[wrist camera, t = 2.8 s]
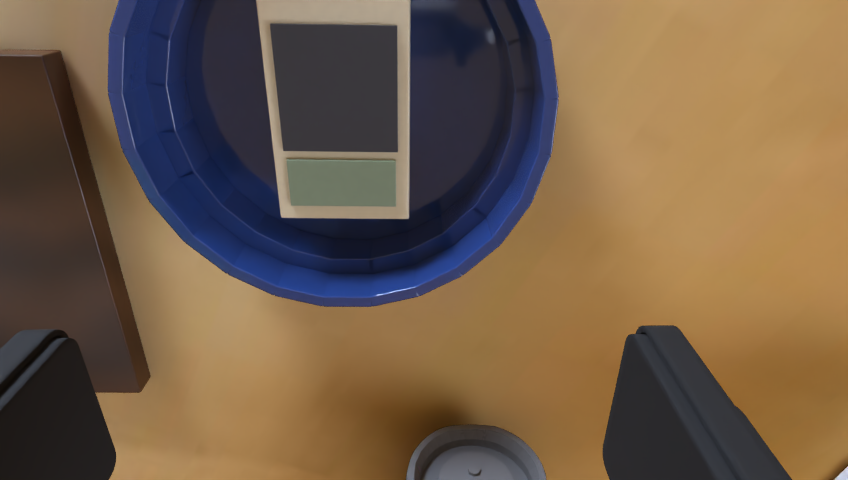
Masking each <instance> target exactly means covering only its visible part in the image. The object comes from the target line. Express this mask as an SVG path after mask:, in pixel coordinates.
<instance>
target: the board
mask: <svg viewBox="0 0 848 480" xmlns="http://www.w3.org/2000/svg"><path fill="white" fill-rule="evenodd" d="M42 329H59V330H63V331H64V332H65V333H67V335H68V337H69V338H72V339H74V340H76V341H77V343H78V345H79V348H80V351H81V353H82V356H83V359H84V362H85V365H86V368H87V371H88V373H89V376H90V379H91V382H92V385H93V388H94V391H95V392H110V393H140V392H141V391H142V389H143V388H144V386H145V385H146V383H147V381H148V380H149V378H150V373H149V369H148V365H147V362H146V358H145V355H144V351H143V347H142V344H141V340H140V337H139V333H138V329H137V326H136V322H135V319H134V315H133V311H132V308H131V304H130V300H129V297H128V293H127V290H126V286H125V282H124V279H123V275H122V272H121V268H120V264H119V261H118V257H117V254H116V250H115V246H114V243H113V239H112V236H111V232H110V228H109V225H108V221H107V218H106V214H105V210H104V207H103V203H102V199H101V196H100V192H99V189H98V185H97V181H96V178H95V174H94V171H93V167H92V163H91V160H90V156H89V153H88V149H87V145H86V142H85V138H84V135H83V131H82V127H81V124H80V120H79V117H78V113H77V109H76V106H75V102H74V98H73V95H72V91H71V88H70V84H69V80H68V77H67V73H66V70H65V66H64V62H63V59H62V55H61V52H60V51H58V50H0V349H1V348H2V347H3V346H4V345H5V344H6V343H7V342H8V341H9V340H10V339H11V338H12V337H13V336H14V335H15V334H17V333H18V332H20V331H22V330H42Z"/></svg>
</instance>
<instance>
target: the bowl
mask: <svg viewBox="0 0 848 480" xmlns="http://www.w3.org/2000/svg"><path fill="white" fill-rule="evenodd" d="M108 92H109V93H108V95H109V99H110V103H111V108H112V112H113V116H114V120H115V124H116V128H117V132H118V136H119V140H120V144H121V148H122V149H123V153H124V155H125V157H126V159H127V160H128V162H129V164H130V166H131V168H132V170H133V172H134V174H135V176H136V177H137V179H138V181H139V183H140V185H141V187H142V189H143V191H144V193H145V195H146V196H147V198H148V200H149V202H150V203H151V204H152V205H153V206H154V208H155V209H156V210H157V211H158V212H159V213H160V215H161V216H162V217H163V218H164V219H165V220H166V221H167V223H168V224H169V225H170V226H171V227H172V228H173V230H174V231H175V232H176V233H177V234H178V235H179V237H180V238H181V239H182V240H183V241H184V242H185V243H186V244H188V245H189V246H190V247H192V248H193V249H194V250H196V251H197V252H198V253H200V254H201V255H202V256H204V257H205V258H206V259H208V260H209V261H210V262H212V263H213V264H214V265H216V266H217V267H218V268H220V269H221V270H222V271H224V272H225V273H228V275H230V276H232V277H235V278H237V279H239V280H241V281H243V282H246V283H248V284H250V285H252V286H254V287H256V288H259V289H261V290H263V291H265V292H267V293H270V294H272V295H275V296H278V297H282V298H287V299H291V300H296V301H300V302H305V303H309V304H314V305H318V306H324V307H371V306H378V305H382V304H387V303H391V302H396V301H401V300H405V299H410V298H414V297H418V296H421V295H423V294H425V293H427V292H429V291H432V290H434V289H436V288H438V287H440V286H442V285H444V284H446V283H448V282H451V281H453V280H455V279H457V278H459V277H461V276H462V275H464V274H465V273H467V272H468V271H469V270H470V269H472V268H473V267H474V266H475V265H477V264H478V263H479V262H480V261H481V260H483V259H484V258H485V257H486V256H488V255H489V254H490V253H491V252H493V251H494V250H495V249H496V248H497V247H499V246H500V244H502V242H503V241H504V240H505V238H506V237H507V236H508V234H509V233H510V232H511V230H512V229H513V228H514V226H515V225H516V224H517V222H518V221H519V220H520V218H521V217H522V216H523V214H524V213H525V212H526V210H527V209H528V208H529V206H530V205H531V203H532V201H533V199H534V196H535V194H536V191H537V189H538V187H539V184H540V182H541V179H542V177H543V174H544V172H545V170H546V167H547V165H548V162H549V160H550V157H551V154H552V148H553V140H554V133H555V125H556V117H557V109H558V102H559V99H558V97H559V95H558V88H557V80H556V73H555V65H554V58H553V50H552V43H551V39H550V35H549V33H548V30H547V28H546V26H545V23H544V21H543V18H542V16H541V14H540V11H539V9H538V7H537V4H536V2H535V0H411V31H410V197H409V218H408V219H346V218H281V214H280V205H279V196H278V188H277V179H276V170H275V162H274V153H273V144H272V135H271V127H270V118H269V109H268V100H267V92H266V83H265V74H264V66H263V57H262V48H261V39H260V31H259V22H258V13H257V4H256V0H119V2H118V5H117V8H116V11H115V14H114V18H113V21H112V24H111V27H110V32H109V59H108Z"/></svg>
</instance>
